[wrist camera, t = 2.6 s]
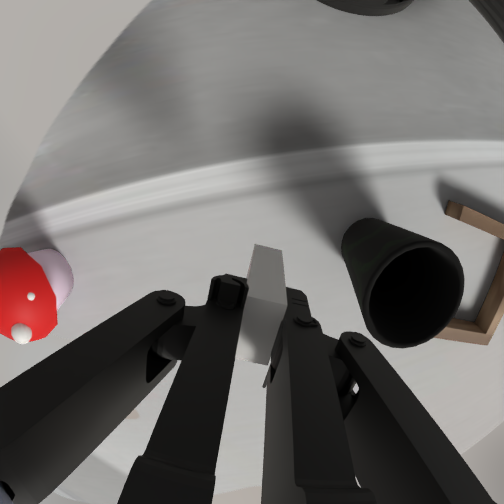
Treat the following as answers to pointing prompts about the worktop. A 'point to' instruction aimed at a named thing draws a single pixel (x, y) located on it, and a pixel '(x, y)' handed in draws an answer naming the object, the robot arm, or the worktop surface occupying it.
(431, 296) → the cup
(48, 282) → the mushroom
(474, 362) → the worktop surface
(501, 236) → the wooden u-shaped bracket
